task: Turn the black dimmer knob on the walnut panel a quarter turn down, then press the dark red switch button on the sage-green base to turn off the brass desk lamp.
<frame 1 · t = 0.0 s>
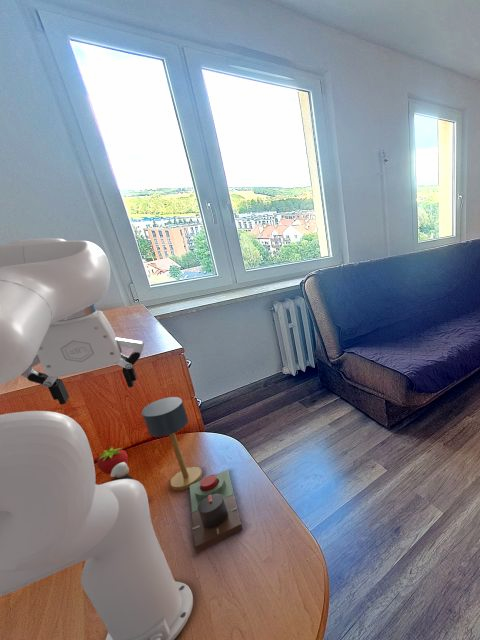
hand: (99, 392, 65), 37 cm above the table, tool pointing down, fingers open, 9 cm apart
grandmother figurine: (135, 503, 84), on the table
desk lamp: (187, 479, 90), on the table
dimmer panel: (217, 524, 78), on the table
lamp switch: (209, 483, 85), point 3 cm above the table, slide at 0.1 cm
switch base: (212, 493, 87), on the table
dimmer knob: (213, 510, 77), point 5 cm above the table, hinge at 0.0°
strawberry: (119, 475, 92), on the table
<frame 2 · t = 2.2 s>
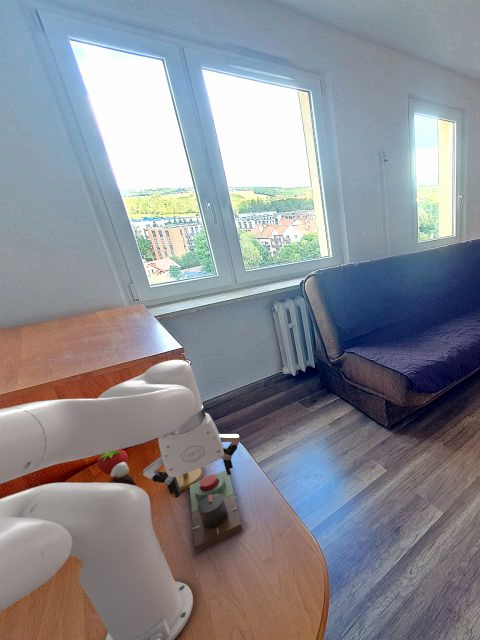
hand: (204, 481, 74), 13 cm above the table, tool pointing down, fingers open, 9 cm apart
nothing on the table moved.
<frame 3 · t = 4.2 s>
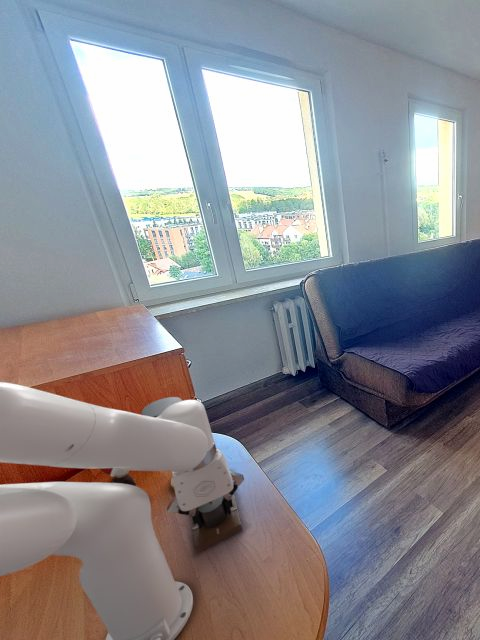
hand: (214, 515, 77), 3 cm above the table, tool pointing down, fingers closed on dimmer knob, 5 cm apart
dimmer knob: (213, 510, 77), point 5 cm above the table, hinge at 0.0°, touching gripper
everything else where it was.
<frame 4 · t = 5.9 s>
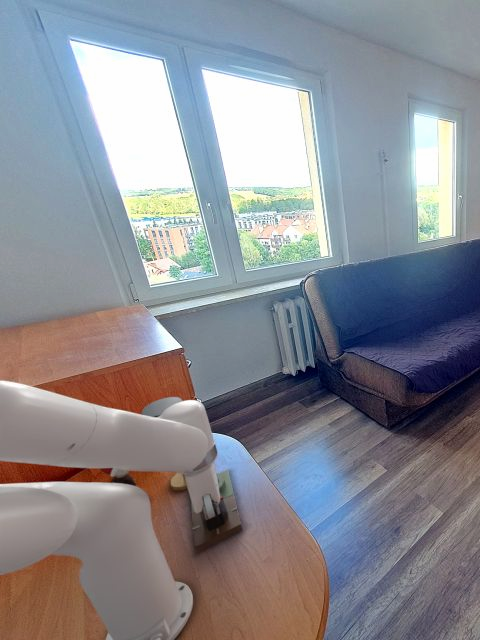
hand: (215, 515, 77), 3 cm above the table, tool pointing down, fingers open, 5 cm apart
dimmer knob: (213, 510, 77), point 5 cm above the table, hinge at -90.8°
everything else where it was.
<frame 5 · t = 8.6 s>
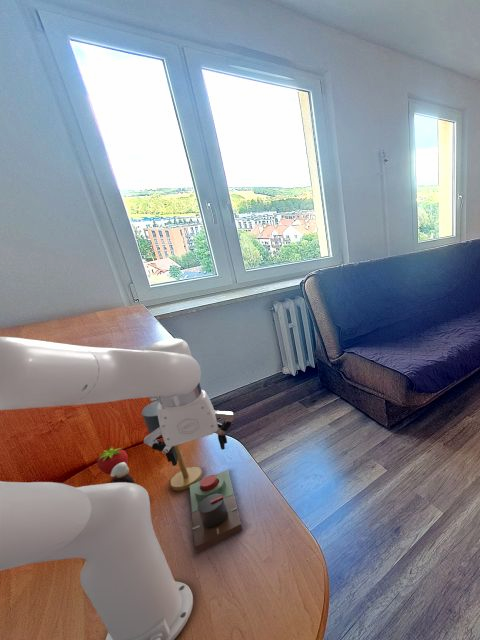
hand: (200, 453, 80), 15 cm above the table, tool pointing down, fingers open, 9 cm apart
nothing on the table moved.
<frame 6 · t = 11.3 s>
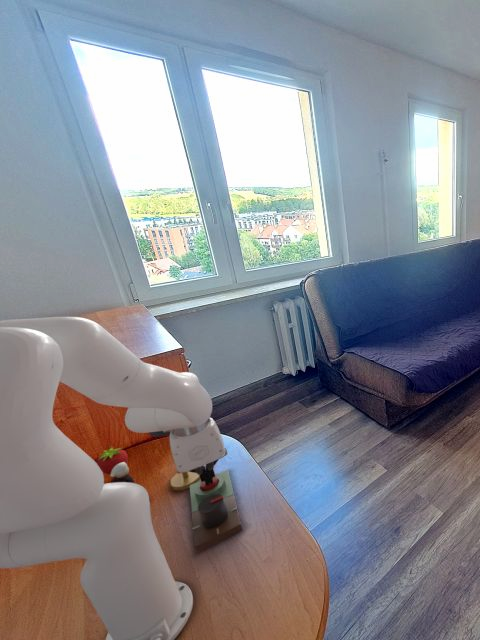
hand: (209, 480, 85), 4 cm above the table, tool pointing down, fingers closed
lamp switch: (209, 484, 85), point 3 cm above the table, slide at -0.3 cm, touching gripper
everything else where it was.
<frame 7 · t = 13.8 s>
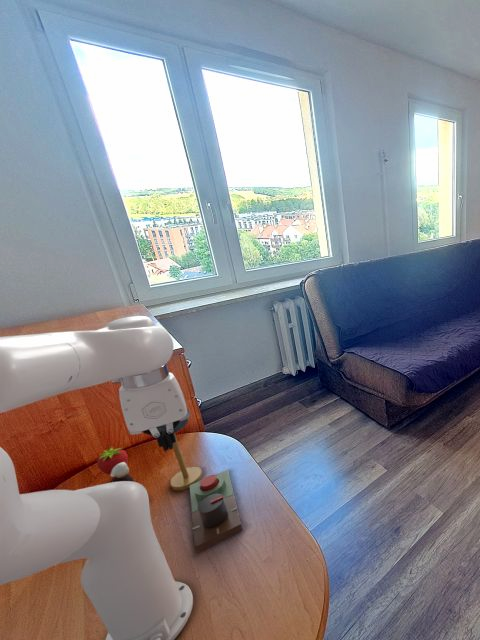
hand: (169, 446, 75), 19 cm above the table, tool pointing down, fingers closed
lamp switch: (209, 483, 85), point 3 cm above the table, slide at 0.1 cm
everything else where it was.
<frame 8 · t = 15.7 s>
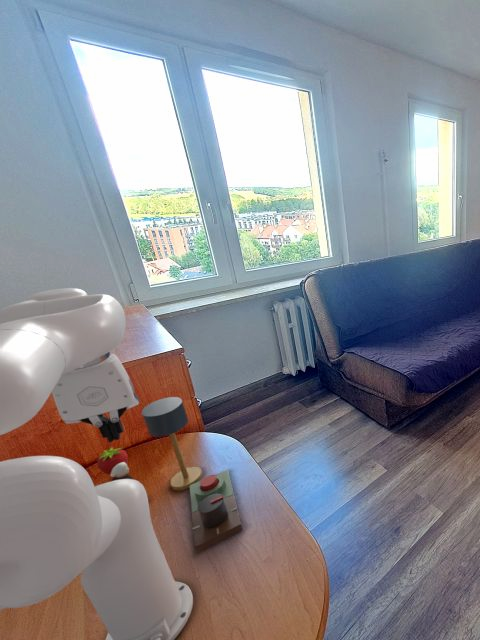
hand: (115, 437, 67), 27 cm above the table, tool pointing down, fingers closed
nothing on the table moved.
at the end: dimmer knob at -91° (first picture: +0°); lamp switch pushed in 1.1 cm at the most during the clip, back to where it started at the end; lamp switch slide at 0.1 cm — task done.
